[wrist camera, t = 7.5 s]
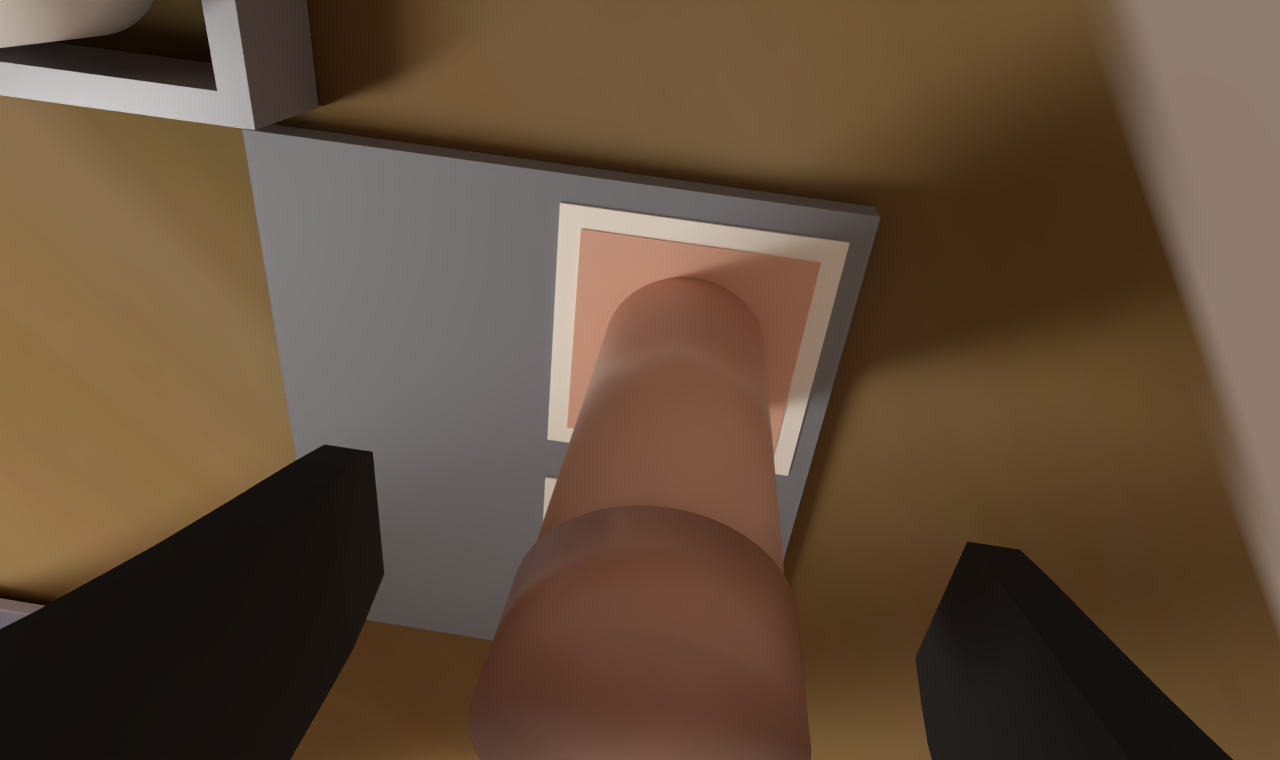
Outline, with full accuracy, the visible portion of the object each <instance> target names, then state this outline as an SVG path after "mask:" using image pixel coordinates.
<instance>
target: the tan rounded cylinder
mask: <svg viewBox="0 0 1280 760" xmlns="http://www.w3.org/2000/svg"><path fill="white" fill-rule="evenodd" d="M469 728H470V735H471V739H472V742H473V745H474V748H475V750H476V752H477V754H478V756H479V758H480V760H811V745H810V735H809V725H808V716H807V706H806V696H805V686H804V676H803V667H802V657H801V647H800V637H799V628H798V618H797V610H796V604H795V599H794V596H793V593H792V590H791V587H790V585H789V583H788V581H787V579H786V578H785V576H784V566H783V554H782V543H781V532H780V520H779V509H778V498H777V486H776V475H775V464H774V452H773V441H772V429H771V418H770V407H769V395H768V384H767V373H766V361H765V350H764V341H763V335H762V332H761V329H760V326H759V324H758V322H757V320H756V318H755V316H754V315H753V313H752V312H751V310H750V309H749V308H748V307H747V305H746V304H745V303H744V302H743V301H742V300H741V299H739V298H738V297H737V296H736V295H735V294H733V293H732V292H730V291H729V290H727V289H725V288H723V287H721V286H719V285H717V284H715V283H712V282H709V281H706V280H701V279H696V278H685V277H682V278H669V279H663V280H660V281H656V282H653V283H650V284H648V285H646V286H644V287H642V288H640V289H638V290H637V291H635V292H633V293H632V294H631V295H630V296H628V297H627V298H626V299H625V300H624V301H623V302H622V303H621V304H620V305H619V307H618V308H617V310H616V311H615V312H614V314H613V316H612V318H611V320H610V322H609V324H608V327H607V330H606V333H605V336H604V339H603V342H602V345H601V348H600V352H599V355H598V358H597V361H596V364H595V367H594V370H593V373H592V376H591V379H590V382H589V385H588V388H587V391H586V394H585V397H584V400H583V403H582V406H581V409H580V412H579V415H578V418H577V421H576V424H575V427H574V430H573V433H572V436H571V439H570V442H569V445H568V448H567V451H566V454H565V457H564V460H563V463H562V466H561V469H560V472H559V475H558V478H557V481H556V484H555V487H554V490H553V493H552V496H551V499H550V502H549V505H548V508H547V511H546V514H545V517H544V520H543V523H542V526H541V529H540V532H539V535H538V538H537V541H536V543H535V544H534V545H533V546H532V547H531V549H530V550H529V551H528V552H527V554H526V555H525V556H524V558H523V560H522V562H521V564H520V566H519V567H518V570H517V573H516V576H515V578H514V581H513V584H512V587H511V590H510V593H509V596H508V599H507V601H506V604H505V607H504V610H503V613H502V616H501V619H500V622H499V625H498V627H497V630H496V633H495V636H494V639H493V642H492V645H491V648H490V650H489V653H488V656H487V659H486V662H485V665H484V668H483V671H482V673H481V676H480V679H479V682H478V685H477V688H476V691H475V694H474V697H473V700H472V703H471V706H470V713H469Z"/></svg>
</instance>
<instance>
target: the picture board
mask: <svg viewBox="0 0 1280 760" xmlns="http://www.w3.org/2000/svg"><path fill="white" fill-rule="evenodd" d="M242 130H243V136H244V142H245V148H246V154H247V160H248V166H249V173H250V179H251V185H252V191H253V197H254V203H255V209H256V216H257V222H258V228H259V234H260V240H261V246H262V252H263V259H264V265H265V271H266V277H267V283H268V289H269V295H270V301H271V308H272V314H273V320H274V326H275V332H276V338H277V344H278V351H279V357H280V363H281V369H282V375H283V381H284V387H285V394H286V400H287V406H288V412H289V418H290V424H291V430H292V436H293V443H294V449H295V455H296V460H298V459H299V458H301V457H303V456H304V455H306V454H308V453H310V452H311V451H313V450H315V449H317V448H319V447H321V446H322V445H324V444H325V445H332V446H339V447H345V448H352V449H358V450H365V451H372V452H373V458H374V469H375V480H376V490H377V501H378V511H379V522H380V532H381V543H382V554H383V564H384V576H383V579H382V581H381V584H380V586H379V589H378V591H377V594H376V596H375V599H374V601H373V603H372V606H371V608H370V611H369V613H368V616H367V618H366V620H369V621H375V622H381V623H387V624H393V625H400V626H406V627H412V628H418V629H424V630H430V631H437V632H443V633H449V634H455V635H461V636H467V637H474V638H480V639H486V640H492V641H493V639H494V636H495V633H496V630H497V627H498V625H499V622H500V619H501V616H502V613H503V610H504V607H505V604H506V601H507V599H508V596H509V593H510V590H511V587H512V584H513V581H514V578H515V576H516V573H517V570H518V567H519V566H520V564H521V562H522V560H523V558H524V556H525V555H526V554H527V552H528V551H529V550H530V549H531V547H532V546H533V545H534V544H535V543H536V541H537V538H538V535H539V532H540V529H541V526H542V523H543V520H544V517H545V514H546V511H547V508H548V505H549V502H550V499H551V496H552V493H553V490H554V487H555V484H556V481H557V478H558V475H559V472H560V469H561V466H562V463H563V460H564V457H565V454H566V451H567V448H568V445H569V442H570V439H571V436H572V433H573V430H574V427H575V424H576V421H577V418H578V415H579V412H580V409H581V406H582V403H583V400H584V397H585V394H586V391H587V388H588V385H589V382H590V379H591V376H592V373H593V370H594V367H595V364H596V361H597V358H598V355H599V352H600V348H601V345H602V342H603V339H604V336H605V333H606V330H607V327H608V324H609V322H610V320H611V318H612V316H613V314H614V312H615V311H616V310H617V308H618V307H619V305H620V304H621V303H622V302H623V301H624V300H625V299H626V298H627V297H628V296H630V295H631V294H632V293H633V292H635V291H637V290H638V289H640V288H642V287H644V286H646V285H648V284H650V283H653V282H656V281H660V280H663V279H669V278H682V277H685V278H696V279H701V280H706V281H709V282H712V283H715V284H717V285H719V286H721V287H723V288H725V289H727V290H729V291H730V292H732V293H733V294H735V295H736V296H737V297H738V298H739V299H741V300H742V301H743V302H744V303H745V304H746V305H747V307H748V308H749V309H750V310H751V312H752V313H753V315H754V316H755V318H756V320H757V322H758V324H759V326H760V329H761V332H762V335H763V341H764V350H765V361H766V373H767V384H768V395H769V407H770V418H771V429H772V441H773V452H774V464H775V475H776V486H777V498H778V509H779V520H780V532H781V543H782V554H783V561H784V557H785V554H786V550H787V546H788V543H789V539H790V536H791V532H792V529H793V525H794V522H795V518H796V515H797V511H798V508H799V504H800V500H801V497H802V493H803V490H804V486H805V483H806V479H807V476H808V472H809V469H810V465H811V462H812V458H813V455H814V451H815V447H816V444H817V440H818V437H819V433H820V430H821V426H822V423H823V419H824V416H825V412H826V409H827V405H828V402H829V398H830V394H831V391H832V387H833V384H834V380H835V377H836V373H837V370H838V366H839V363H840V359H841V356H842V352H843V348H844V345H845V341H846V338H847V334H848V331H849V327H850V324H851V320H852V317H853V313H854V310H855V306H856V303H857V299H858V295H859V292H860V288H861V285H862V281H863V278H864V274H865V271H866V267H867V264H868V260H869V257H870V253H871V249H872V246H873V242H874V239H875V235H876V232H877V228H878V225H879V221H880V218H881V217H880V215H879V213H878V212H877V210H876V208H875V207H874V206H867V205H859V204H852V203H845V202H837V201H830V200H823V199H815V198H808V197H801V196H794V195H786V194H779V193H772V192H764V191H757V190H750V189H743V188H735V187H728V186H721V185H713V184H706V183H699V182H691V181H684V180H677V179H670V178H662V177H655V176H648V175H640V174H633V173H626V172H619V171H611V170H604V169H597V168H589V167H582V166H575V165H567V164H560V163H553V162H546V161H538V160H531V159H524V158H516V157H509V156H502V155H495V154H487V153H480V152H473V151H465V150H458V149H451V148H443V147H436V146H429V145H422V144H414V143H407V142H400V141H392V140H385V139H378V138H370V137H363V136H356V135H349V134H341V133H334V132H327V131H319V130H312V129H305V128H298V127H290V126H283V125H276V124H271V125H268V126H265V127H262V128H260V129H257V130H251V129H242Z"/></svg>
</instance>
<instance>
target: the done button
mask: <svg viewBox="0 0 1280 760" xmlns="http://www.w3.org/2000/svg"><path fill="white" fill-rule="evenodd" d="M154 1H155V0H0V48H4V47H12V46H20V45H29V44H37V43H45V42H54V41H62V40H71V39H79V38H87V37H96V36H104V35H110V34H114V33H118V32H121V31H123V30H125V29H127V28H129V27H131V26H132V25H134V24H135V23H136V22H138V21H139V20H140V19H141V18H142V17H143V16H144V15H145V14H146V13H147V12H148V11H149V9H150V7H151V6H152V4H153V3H154Z"/></svg>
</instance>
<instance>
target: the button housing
mask: <svg viewBox="0 0 1280 760" xmlns="http://www.w3.org/2000/svg"><path fill="white" fill-rule="evenodd" d="M201 1H202V7H203V13H204V18H205V24H206V30H207V35H208V41H209V47H210V52H211V58H212V63H206V62H199V61H191V60H184V59H176V58H169V57H162V56H154V55H147V54H139V53H132V52H124V51H117V50H109V49H102V48H95V47H87V46H80V45H72V44H65V43H57V42H45V43H37V44H29V45H20V46H12V47H4V48H0V95H3V96H11V97H18V98H25V99H32V100H40V101H47V102H54V103H62V104H69V105H76V106H83V107H91V108H98V109H105V110H112V111H120V112H127V113H134V114H141V115H149V116H156V117H163V118H171V119H178V120H185V121H192V122H200V123H207V124H214V125H221V126H229V127H236V128H243V129H251V130H257V129H260V128H262V127H265V126H268V125H271V124H274V123H276V122H279V121H282V120H285V119H288V118H290V117H293V116H296V115H299V114H302V113H304V112H307V111H310V110H313V109H316V108H318V107H319V106H318V97H317V88H316V79H315V70H314V61H313V52H312V43H311V33H310V24H309V15H308V6H307V0H201Z"/></svg>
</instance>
